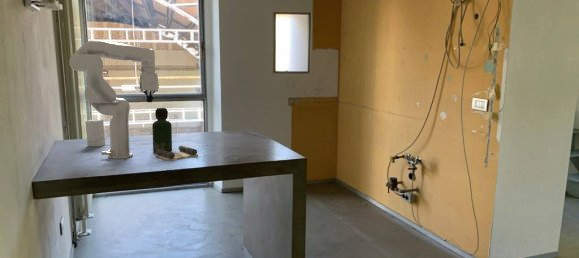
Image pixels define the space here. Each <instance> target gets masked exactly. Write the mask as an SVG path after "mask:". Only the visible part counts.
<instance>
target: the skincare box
mask: <svg viewBox="0 0 579 258" xmlns="http://www.w3.org/2000/svg"><path fill="white" fill-rule="evenodd" d="M84 122H85V131H86V144H87V147H97V148H98V147H99V148H100V147H104V146H105V145H106V137H105V135H106V134H105V127H104V125H105V124H104V119H89V120H85V121H84Z"/></svg>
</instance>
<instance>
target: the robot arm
mask: <svg viewBox="0 0 579 258" xmlns="http://www.w3.org/2000/svg"><path fill="white" fill-rule="evenodd" d="M103 59H111V60H118V61H131V62H134V63H135V62H136V63H140V62H141V63H140V64H141V65H140V67H141V68H139V69H138V70H139V72H140V75H139V90H140V91H139V92H140V93H143V94H144V95H145V97H146V103H153V101H154V100H153V96H154V94H155V93H156V92H159V89H160V85H159V83H160V82H159V78H158V73H157V72H156V56H155V50H154V49H153V48H148V47H143V46H136V45H131V44H125V43H119V42H112V41H108V40H88V41H87V42H85V43H83V44H82V45H81V46H80V47H79V48H78V49H77V50H76V51H75V52H73V54H72V55H71V56H70V58H69V63H68V64H69V66H70V68H71V70H73V71H75V72H80V73H81V72H82V73H83V72H86V78H85V83H86V87H85V89H84V98H85V100H86V101H87V102H88V104H90V106H92V107H93V108H94V109H95V110H96V111H97V112H98V113H100V114H101V115H103V116H112V117H111V119H110V121H109V141H110V148H108V149H107V150H102V151H101V155H102V156H105V155H106V156H107V158H109V159H113V160H114V159H115V160H117V159H118V160H120V159H121V160H123V159H128V158H131V157H133V156H134V154H133V152H130V151H131V150H130V132H129V131H130V129H129V128H130V127H129V126H130V125H129V115H130V111H131V106H130V102H129V101H128V100H127V99H125V98H123V97H122V98H121V97H117V93H116V91H115V90H114V88H113V87H112V86H111V85H110V84H109V83H108V82H107V80H106V79H105V78H104V76H103V70H104V69H103V68H104V62H103Z"/></svg>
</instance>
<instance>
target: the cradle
mask: <svg viewBox="0 0 579 258" xmlns="http://www.w3.org/2000/svg"><path fill="white" fill-rule="evenodd" d="M154 156H155V157H156V158H159V159H162V160H165V161H167V162H171V161H176V160H182V159H188V158H194V157H199V153H198V150H197V149H196V148H191V147H188V146H185V145H179V146H178V151H177V150H176V151H171V152H168V151H165V150H162V149H157V150H156V153H155V155H154Z"/></svg>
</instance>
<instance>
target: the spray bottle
mask: <svg viewBox="0 0 579 258" xmlns="http://www.w3.org/2000/svg"><path fill="white" fill-rule="evenodd" d="M154 113H155V119H156V120H155V121H153V123H152V125H151V126H152V152H153V153H155V154H157V153H156V150H157V149H162V150H165V151H168V152H173V134H172V133H173V132H172V130H173V129H172V128H173V127H172V123H171V122H170V121H169V120H168V117H169V111H168V109H167V108H166V107H157V108H156V109H155V112H154Z"/></svg>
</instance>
